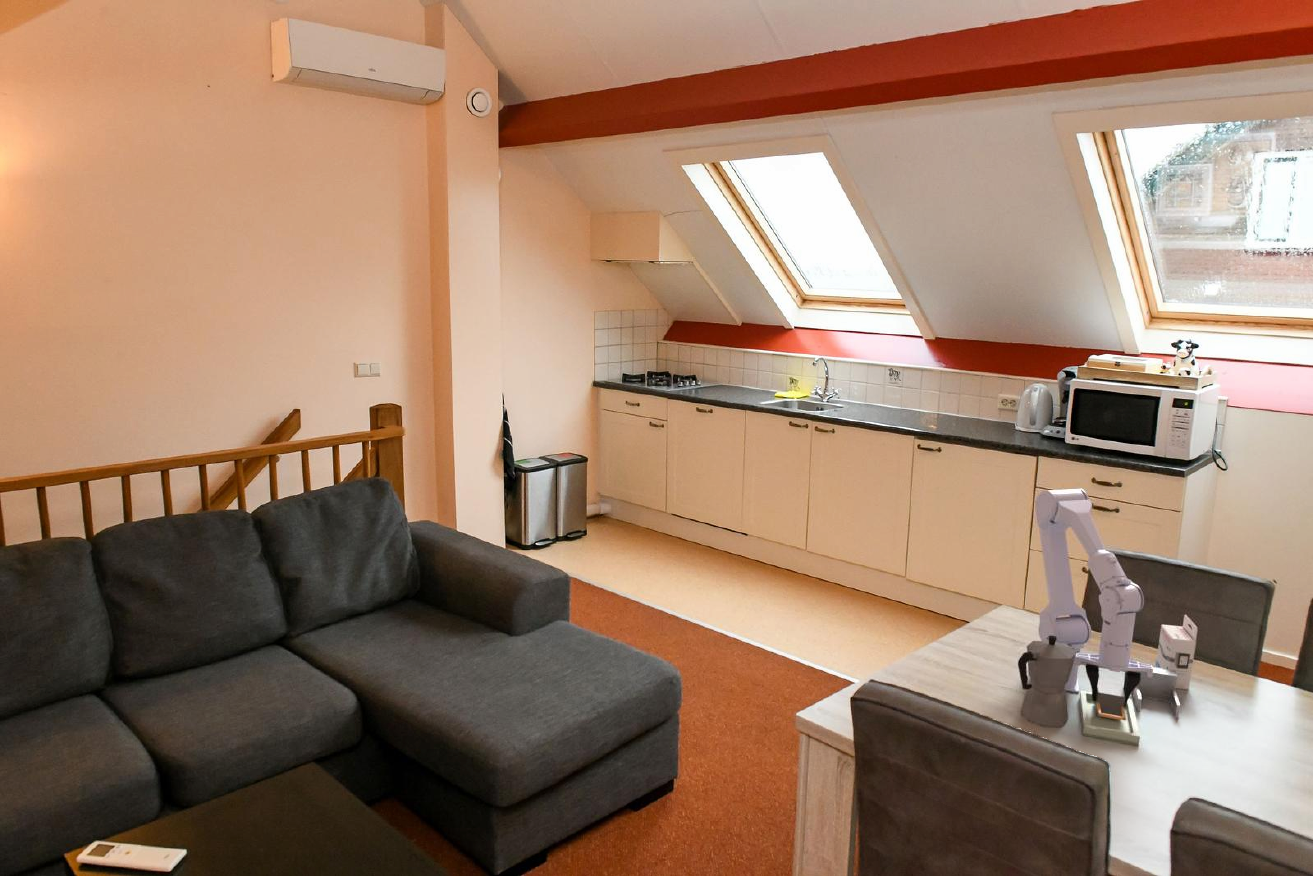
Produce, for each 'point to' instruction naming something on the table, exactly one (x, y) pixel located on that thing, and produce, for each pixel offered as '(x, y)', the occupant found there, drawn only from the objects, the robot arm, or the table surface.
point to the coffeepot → (1046, 681)
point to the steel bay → (1158, 689)
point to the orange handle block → (1110, 699)
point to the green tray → (1108, 723)
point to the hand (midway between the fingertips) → (1108, 701)
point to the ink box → (1177, 650)
